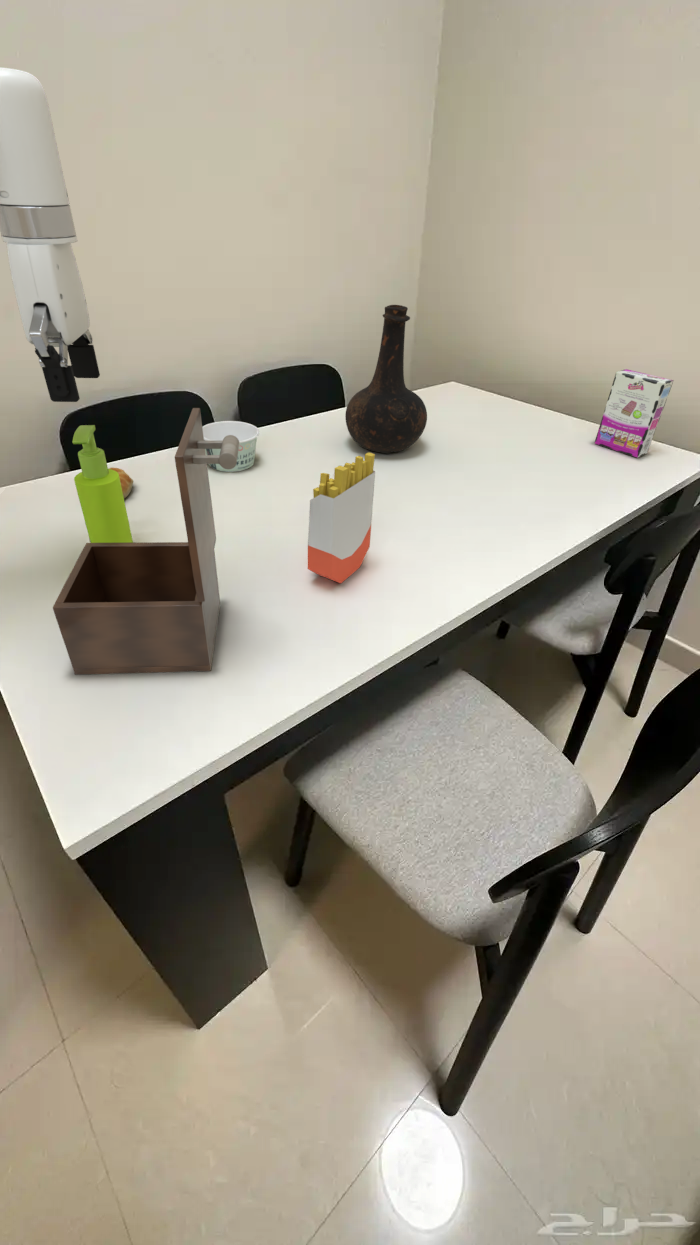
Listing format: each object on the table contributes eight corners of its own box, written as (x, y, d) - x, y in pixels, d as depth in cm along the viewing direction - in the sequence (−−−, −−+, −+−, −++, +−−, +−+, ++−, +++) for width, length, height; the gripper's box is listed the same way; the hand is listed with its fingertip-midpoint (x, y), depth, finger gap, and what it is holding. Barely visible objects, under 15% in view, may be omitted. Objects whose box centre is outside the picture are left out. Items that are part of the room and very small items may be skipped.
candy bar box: (647, 453, 134) (675, 379, 124) (637, 458, 131) (665, 383, 121) (603, 439, 140) (626, 367, 130) (592, 443, 138) (615, 370, 127)
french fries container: (305, 581, 86) (305, 466, 75) (344, 551, 94) (349, 442, 82) (331, 592, 84) (334, 475, 73) (369, 560, 92) (377, 450, 81)
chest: (74, 674, 69) (52, 607, 62) (103, 605, 79) (86, 542, 73) (210, 671, 70) (201, 605, 64) (220, 603, 81) (213, 541, 75)
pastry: (126, 508, 102) (121, 487, 99) (86, 508, 101) (80, 488, 98) (135, 484, 109) (131, 465, 107) (98, 485, 108) (93, 466, 106)
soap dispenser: (90, 571, 86) (54, 438, 73) (98, 547, 91) (66, 419, 79) (131, 569, 86) (103, 438, 74) (137, 546, 92) (111, 419, 80)
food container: (236, 479, 113) (233, 447, 109) (188, 465, 117) (184, 433, 113) (272, 460, 121) (271, 429, 117) (227, 446, 126) (224, 416, 121)
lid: (174, 456, 54) (231, 456, 54) (192, 407, 64) (240, 408, 65) (197, 602, 64) (245, 600, 64) (210, 538, 75) (250, 538, 75)
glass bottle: (354, 463, 122) (362, 315, 104) (336, 433, 135) (340, 297, 118) (434, 459, 125) (455, 315, 108) (408, 430, 139) (423, 298, 122)
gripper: (28, 217, 69) (66, 369, 80) (-34, 231, 56) (22, 411, 66) (93, 220, 70) (122, 370, 80) (47, 234, 56) (90, 411, 67)
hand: (77, 388), depth 73 cm, fingers open, 9 cm apart
